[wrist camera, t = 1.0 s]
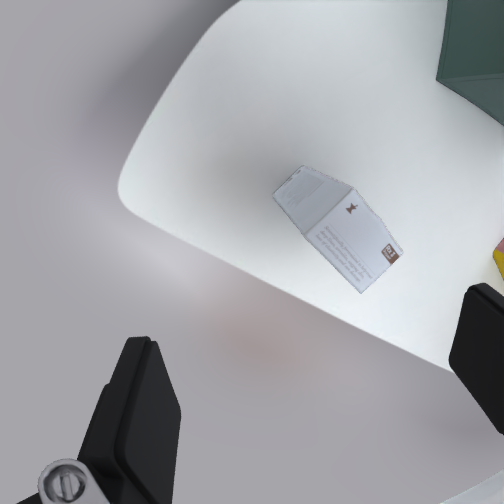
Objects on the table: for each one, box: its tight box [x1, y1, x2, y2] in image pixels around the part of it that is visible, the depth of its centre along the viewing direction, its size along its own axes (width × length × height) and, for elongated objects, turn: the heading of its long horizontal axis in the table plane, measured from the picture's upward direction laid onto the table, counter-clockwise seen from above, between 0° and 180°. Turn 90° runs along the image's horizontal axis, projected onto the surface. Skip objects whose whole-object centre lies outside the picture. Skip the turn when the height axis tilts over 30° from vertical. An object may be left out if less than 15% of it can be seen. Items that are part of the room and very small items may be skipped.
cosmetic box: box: [273, 166, 403, 294], centre depth 24 cm, size 6×4×12 cm
